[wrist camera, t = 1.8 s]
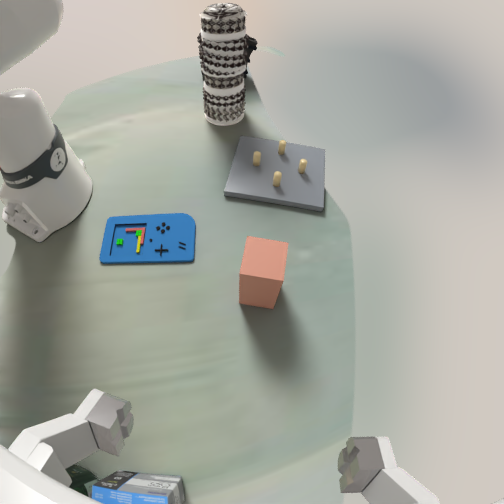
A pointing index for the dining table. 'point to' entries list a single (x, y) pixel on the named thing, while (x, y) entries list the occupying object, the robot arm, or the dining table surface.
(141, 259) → the handheld gaming device
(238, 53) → the decorative candle
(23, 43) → the robot arm
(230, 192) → the plate
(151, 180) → the dining table surface
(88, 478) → the coffee jar
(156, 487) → the label tape box
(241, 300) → the salmon pink block
